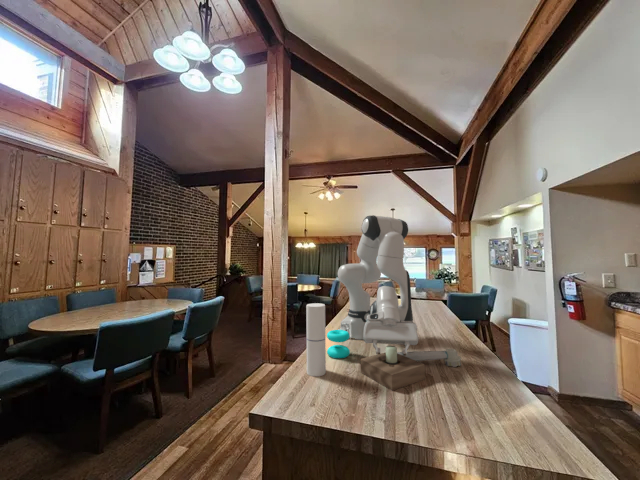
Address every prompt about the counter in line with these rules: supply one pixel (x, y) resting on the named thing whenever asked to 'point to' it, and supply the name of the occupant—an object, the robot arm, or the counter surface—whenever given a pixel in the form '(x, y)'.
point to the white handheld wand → (436, 356)
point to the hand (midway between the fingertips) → (391, 354)
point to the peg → (391, 355)
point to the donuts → (338, 350)
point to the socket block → (393, 371)
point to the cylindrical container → (315, 339)
